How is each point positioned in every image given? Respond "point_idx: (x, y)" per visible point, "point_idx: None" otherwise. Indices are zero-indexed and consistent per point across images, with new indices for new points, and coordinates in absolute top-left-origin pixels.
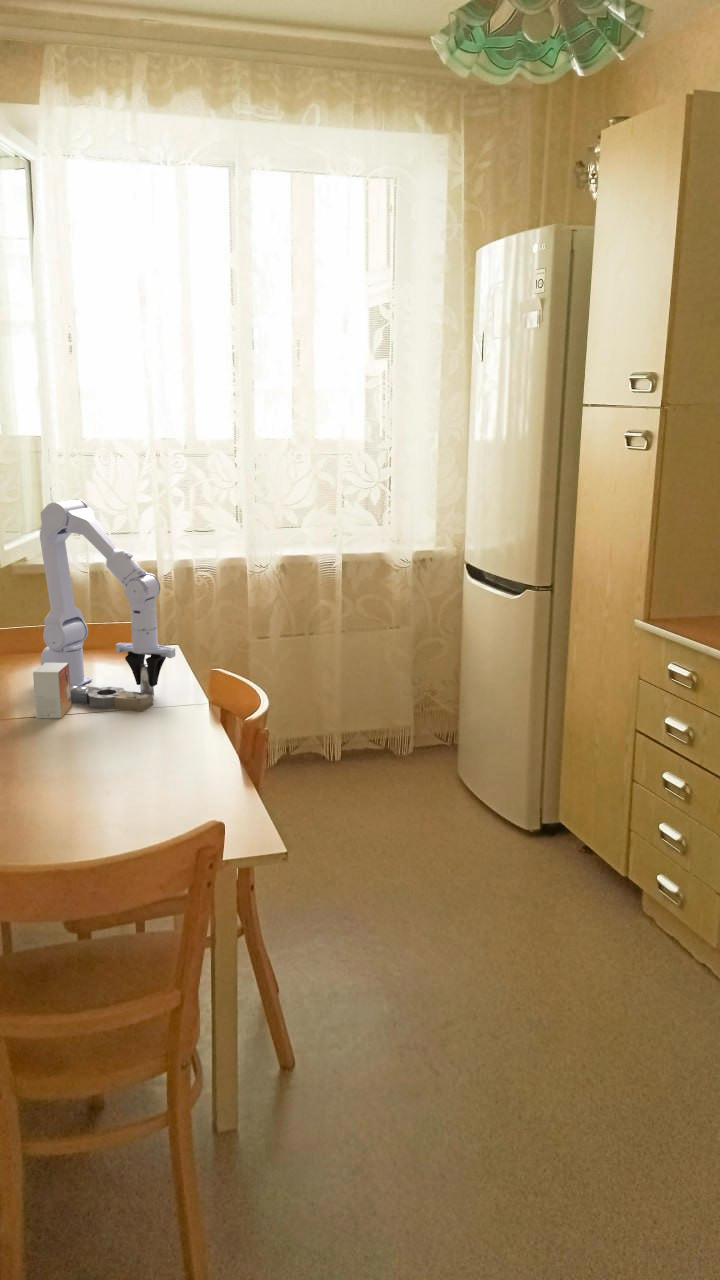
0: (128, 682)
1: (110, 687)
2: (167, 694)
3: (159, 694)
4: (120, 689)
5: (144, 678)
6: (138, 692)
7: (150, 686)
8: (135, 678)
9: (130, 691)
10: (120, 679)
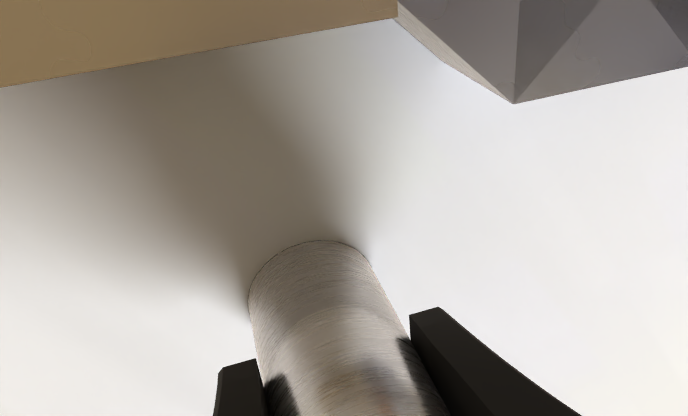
0: (613, 383)
1: (682, 30)
2: (149, 399)
3: (215, 359)
4: (515, 29)
5: (340, 406)
6: (145, 52)
7: (266, 363)
8: (482, 352)
9: (313, 26)
10: (684, 386)
